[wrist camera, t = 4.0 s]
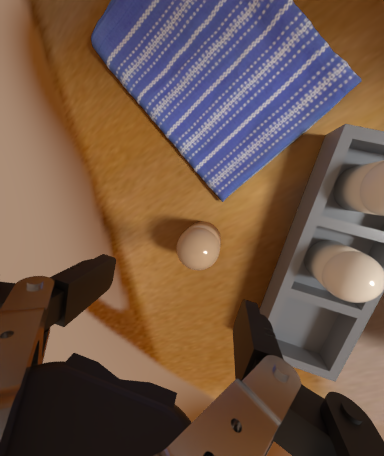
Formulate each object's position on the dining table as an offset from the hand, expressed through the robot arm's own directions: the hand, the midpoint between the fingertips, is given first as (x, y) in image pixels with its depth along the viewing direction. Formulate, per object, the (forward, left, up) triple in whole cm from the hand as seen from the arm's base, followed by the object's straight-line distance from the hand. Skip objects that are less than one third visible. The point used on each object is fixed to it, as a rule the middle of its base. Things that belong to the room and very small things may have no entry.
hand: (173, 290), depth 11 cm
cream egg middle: (-14, -2, -12) cm, 19 cm away
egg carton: (-14, -2, -13) cm, 19 cm away
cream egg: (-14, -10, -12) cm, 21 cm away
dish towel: (+4, -19, -14) cm, 24 cm away
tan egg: (0, 0, -13) cm, 13 cm away
